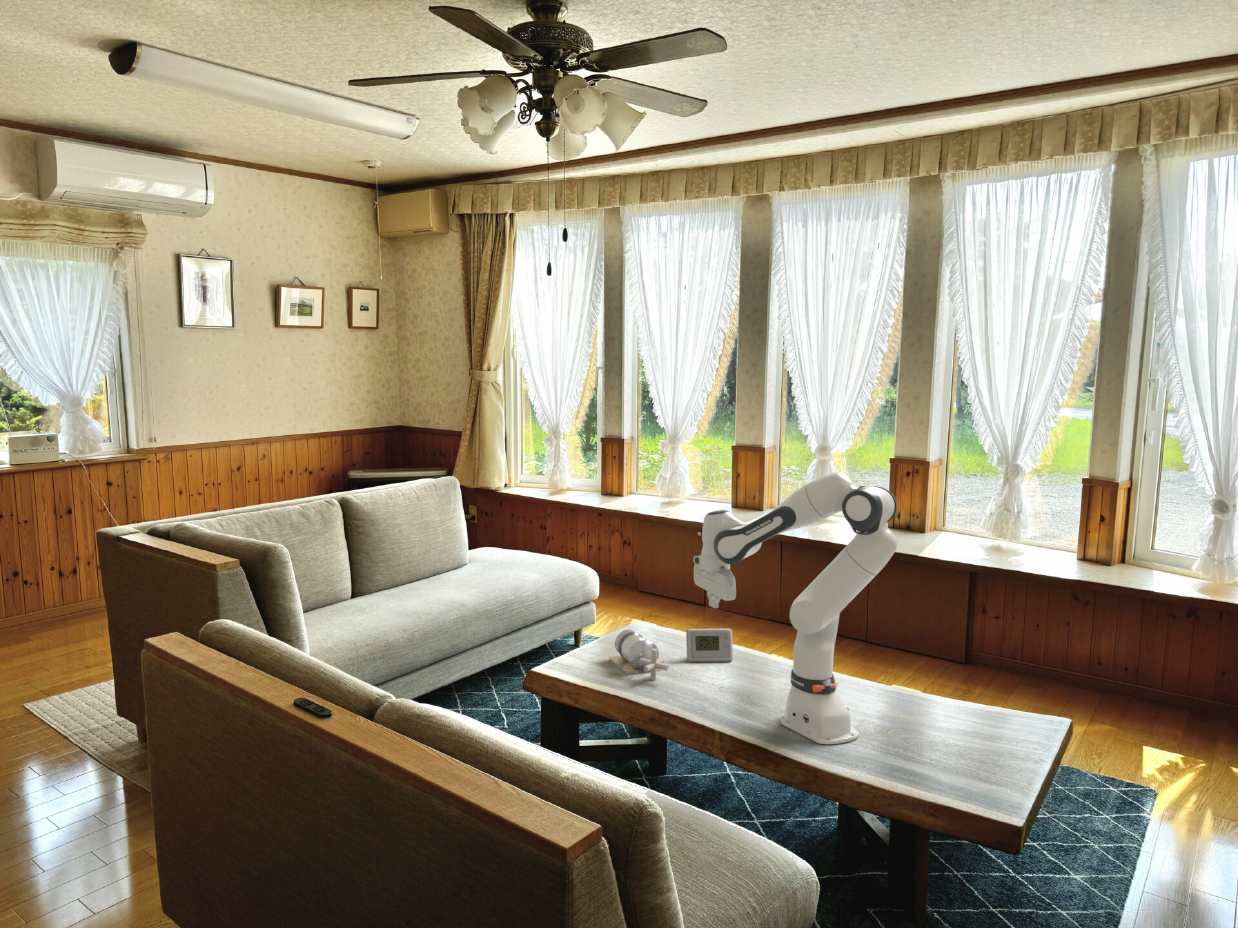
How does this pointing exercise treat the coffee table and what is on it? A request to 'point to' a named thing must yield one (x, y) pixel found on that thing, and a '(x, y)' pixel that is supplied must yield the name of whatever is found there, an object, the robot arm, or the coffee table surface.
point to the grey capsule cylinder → (632, 652)
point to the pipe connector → (653, 664)
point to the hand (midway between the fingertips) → (713, 606)
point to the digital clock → (709, 645)
